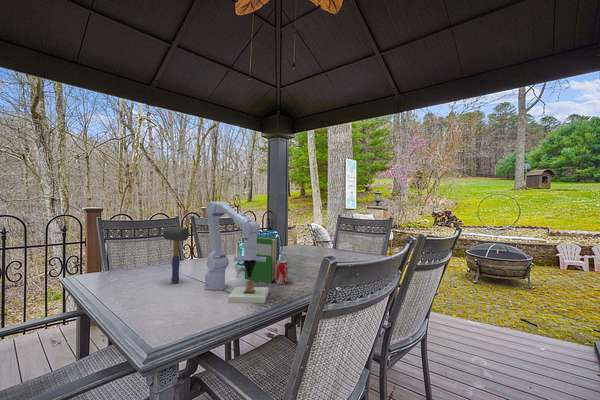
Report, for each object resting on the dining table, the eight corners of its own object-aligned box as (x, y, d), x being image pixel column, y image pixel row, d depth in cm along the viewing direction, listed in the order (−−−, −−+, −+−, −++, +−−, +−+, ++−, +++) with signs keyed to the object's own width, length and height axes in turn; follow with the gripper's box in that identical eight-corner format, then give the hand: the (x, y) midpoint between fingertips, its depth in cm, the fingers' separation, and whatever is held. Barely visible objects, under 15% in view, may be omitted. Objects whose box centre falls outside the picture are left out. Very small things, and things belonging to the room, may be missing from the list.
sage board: (228, 302, 121) (228, 296, 121) (236, 291, 135) (236, 286, 135) (264, 303, 121) (264, 297, 121) (268, 292, 135) (268, 287, 135)
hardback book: (277, 280, 156) (278, 237, 156) (270, 283, 150) (271, 239, 150) (252, 275, 164) (253, 235, 164) (244, 279, 158) (245, 236, 158)
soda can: (283, 285, 146) (283, 263, 146) (272, 283, 150) (272, 261, 150) (290, 282, 152) (290, 260, 152) (280, 280, 156) (280, 259, 156)
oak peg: (244, 298, 126) (245, 283, 126) (246, 295, 130) (246, 280, 130) (252, 298, 126) (253, 283, 126) (254, 296, 130) (254, 281, 130)
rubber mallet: (160, 283, 147) (161, 226, 147) (171, 279, 154) (172, 225, 154) (179, 285, 143) (180, 227, 143) (189, 281, 150) (190, 226, 150)
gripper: (232, 248, 125) (231, 278, 124) (264, 249, 124) (264, 279, 124) (236, 246, 132) (235, 274, 132) (266, 246, 131) (266, 275, 131)
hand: (249, 276), depth 128 cm, fingers closed
